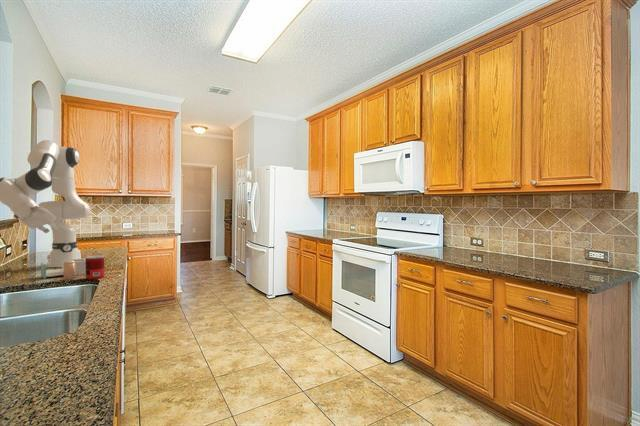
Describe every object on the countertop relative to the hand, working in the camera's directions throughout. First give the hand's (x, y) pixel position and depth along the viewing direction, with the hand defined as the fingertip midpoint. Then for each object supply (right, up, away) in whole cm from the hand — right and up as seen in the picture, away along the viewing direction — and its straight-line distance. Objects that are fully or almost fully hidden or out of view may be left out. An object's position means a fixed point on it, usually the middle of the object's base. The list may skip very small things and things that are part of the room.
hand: (52, 230), depth 160 cm
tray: (-7, -24, +12) cm, 28 cm away
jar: (+5, -24, +5) cm, 25 cm away
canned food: (+15, -25, +8) cm, 30 cm away
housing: (-2, -24, +18) cm, 30 cm away
